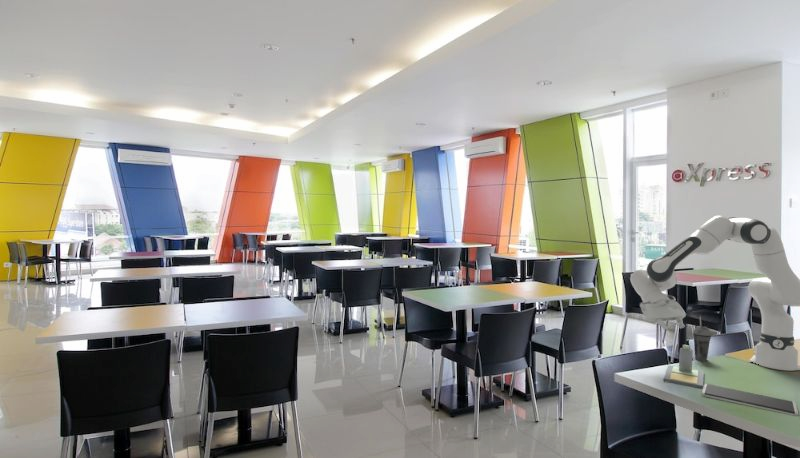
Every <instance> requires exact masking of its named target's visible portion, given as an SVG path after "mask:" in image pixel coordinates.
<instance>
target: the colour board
mask: <svg viewBox="0 0 800 458" xmlns="http://www.w3.org/2000/svg"><path fill="white" fill-rule="evenodd" d="M704 377H705V371H704V370H698V369H693V368H692V372H691V373H686V372H682V371H679V366H674V365H670V364H668V365H667V367H666V371H665V374H664V377H663V381H664V382H666V381H669V382H668V383H672V382H673V384H679V385H683V386H688V387H694V388H698V387H699V388H698V389H703V387H704Z"/></svg>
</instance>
